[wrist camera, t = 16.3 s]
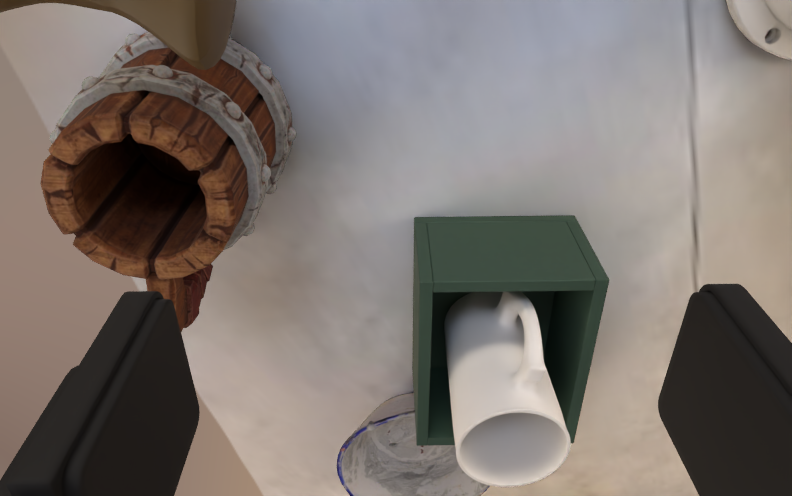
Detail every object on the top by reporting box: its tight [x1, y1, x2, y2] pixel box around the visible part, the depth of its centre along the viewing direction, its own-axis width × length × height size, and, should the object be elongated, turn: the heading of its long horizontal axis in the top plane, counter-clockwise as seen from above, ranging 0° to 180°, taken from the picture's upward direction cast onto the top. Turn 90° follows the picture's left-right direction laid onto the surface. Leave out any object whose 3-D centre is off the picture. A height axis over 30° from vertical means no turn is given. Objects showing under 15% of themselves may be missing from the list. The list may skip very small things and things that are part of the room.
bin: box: [412, 216, 609, 446], centre depth 43 cm, size 11×14×8 cm
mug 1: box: [41, 32, 296, 332], centre depth 33 cm, size 12×14×15 cm
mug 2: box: [444, 291, 571, 487], centre depth 40 cm, size 10×7×12 cm, turn 168°
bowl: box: [337, 393, 489, 496], centre depth 51 cm, size 13×13×5 cm
